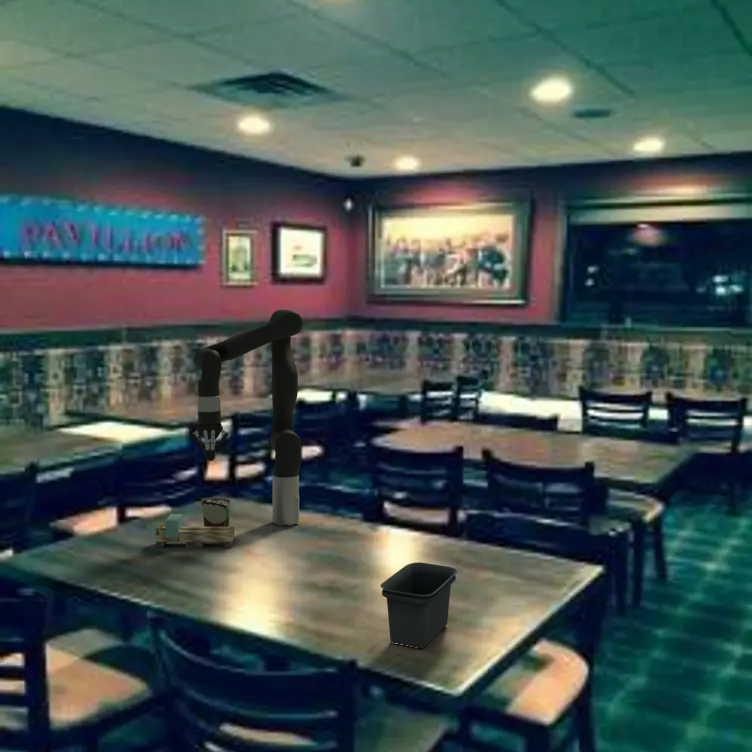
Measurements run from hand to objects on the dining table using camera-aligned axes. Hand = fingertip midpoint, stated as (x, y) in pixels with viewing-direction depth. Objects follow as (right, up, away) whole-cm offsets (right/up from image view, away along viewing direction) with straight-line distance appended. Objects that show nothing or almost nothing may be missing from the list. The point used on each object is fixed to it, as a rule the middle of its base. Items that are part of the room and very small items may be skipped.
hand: (210, 460), depth 283 cm
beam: (-3, -26, -10) cm, 28 cm away
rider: (-10, -22, -10) cm, 27 cm away
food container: (+1, -25, +10) cm, 27 cm away
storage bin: (+64, -34, -79) cm, 107 cm away
